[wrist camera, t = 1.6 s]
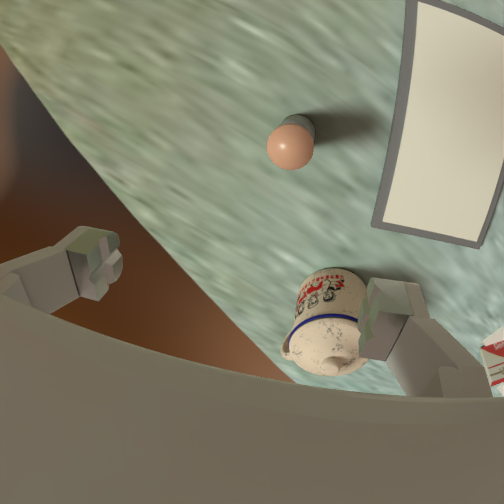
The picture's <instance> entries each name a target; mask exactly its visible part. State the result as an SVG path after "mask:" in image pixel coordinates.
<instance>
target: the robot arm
mask: <svg viewBox="0 0 504 504" xmlns="http://www.w3.org/2000/svg"><path fill="white" fill-rule="evenodd" d="M119 245H120V243H119V237H118V235H117V234H116V233H115V232H110V231H106V230H101V229H96V228H91V227H85V226H79V227H78V228H76V229H75V230H73V231H72V232H71V233H70V234H68V235H67V236H66V237H65V238H63V239H62V240H61V241H60V242H58V243H57V244H56V245H55V246H54V247H47V248H44V249H41V250H39V251H35V252H33V253H30V254H27V255H24V256H22V257H19V258H16V259H13V260H11V261H8V262H5V263H3V264H0V504H504V397H493V395H492V392H491V388H490V385H489V382H488V378H487V375H486V372H485V369H484V367H483V366H482V365H481V364H480V363H479V362H478V361H477V360H476V359H475V358H474V357H473V356H472V355H471V354H470V353H469V352H468V351H467V350H466V349H465V348H464V347H463V346H462V345H461V344H460V343H459V342H458V341H457V340H456V339H455V338H454V337H453V336H452V335H451V334H450V333H449V332H448V331H447V330H446V329H444V328H443V327H442V326H441V325H440V324H439V323H438V322H437V321H436V320H435V319H430V316H429V313H428V310H427V307H426V304H425V301H424V298H423V295H422V292H421V289H420V286H419V285H418V284H417V283H411V282H403V281H395V280H388V279H381V278H374V277H371V279H370V280H369V283H368V285H367V297H366V298H364V299H363V300H362V303H361V306H360V310H359V315H358V331H359V332H360V333H361V335H360V338H359V340H358V345H359V357H361V358H367V359H374V360H381V361H386V362H385V363H386V364H387V366H388V367H389V369H390V370H391V372H392V373H393V375H394V376H395V378H396V379H397V381H398V383H399V384H400V386H401V387H402V389H403V390H404V392H405V393H406V395H407V396H398V395H385V394H373V393H363V392H353V391H344V390H336V389H328V388H321V387H314V386H307V385H301V384H295V383H289V382H283V381H278V380H272V379H267V378H262V377H257V376H252V375H247V374H243V373H238V372H234V371H229V370H225V369H220V368H216V367H212V366H208V365H204V364H199V363H196V362H192V361H188V360H184V359H180V358H177V357H173V356H170V355H166V354H163V353H159V352H156V351H152V350H149V349H145V348H142V347H139V346H136V345H133V344H129V343H126V342H123V341H120V340H117V339H114V338H111V337H108V336H105V335H102V334H100V333H97V332H94V331H91V330H88V329H86V328H83V327H80V326H78V325H75V324H72V323H70V322H67V321H65V320H62V319H59V318H57V317H55V316H52V315H50V313H52V312H54V311H56V310H57V309H59V308H61V307H63V306H64V305H66V304H68V303H70V302H71V301H73V300H75V299H77V298H78V297H79V296H81V297H85V298H89V299H92V300H96V301H99V300H100V299H101V298H102V296H103V295H104V294H105V293H106V292H107V290H108V289H109V288H108V284H110V283H113V282H115V281H116V280H117V279H118V278H119V276H120V274H121V271H122V267H123V266H122V265H123V260H122V255H121V254H120V252H119V251H118V250H117V248H118V247H119Z"/></svg>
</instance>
